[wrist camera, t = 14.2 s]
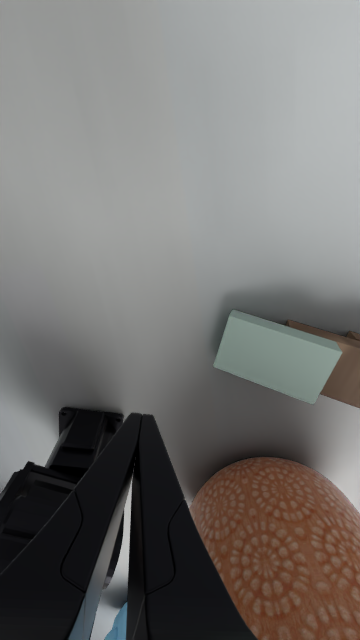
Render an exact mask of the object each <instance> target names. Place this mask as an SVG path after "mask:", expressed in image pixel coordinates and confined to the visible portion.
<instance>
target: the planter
mask: <svg viewBox="0 0 360 640" xmlns="http://www.w3.org/2000/svg"><path fill="white" fill-rule="evenodd" d="M189 511H190V513H191V516H192V518H193V520H194V523H195V525H196V528H197V530H198V532H199V534H200V536H201V538H202V541H203V543H204V545H205V547H206V549H207V551H208V553H209V555H210V557H211V559H212V561H213V563H214V565H215V567H216V569H217V571H218V573H219V575H220V577H221V579H222V581H223V583H224V585H225V587H226V589H227V591H228V593H229V595H230V597H231V599H232V600H233V602H234V604H235V606H236V608H237V610H238V611H239V613H240V615H241V617H242V618H243V620H244V621H245V623H246V624H247V626H248V627H249V629H250V630H251V631H252V633H253V634H254V635H255V636H256V638H257V639H258V640H360V513H359V512H358V511H357V510H356V508H355V507H354V506H353V505H352V503H351V502H350V501H349V500H348V499H347V497H346V496H345V495H344V494H343V493H342V492H341V491H340V490H339V489H338V488H337V487H336V486H335V485H334V484H333V483H332V482H331V481H330V480H328V479H327V478H326V477H324V476H323V475H322V474H320V473H319V472H317V471H315V470H313V469H311V468H309V467H307V466H305V465H303V464H300V463H298V462H294V461H291V460H287V459H283V458H276V457H255V458H249V459H244V460H241V461H238V462H235V463H232V464H230V465H228V466H226V467H224V468H223V469H221V470H220V471H218V472H217V473H216V474H214V475H213V476H212V477H211V478H210V479H209V480H208V481H207V482H206V483H205V484H204V485H203V486H202V487H201V489H200V490H199V491H198V493H197V495H196V496H195V498H194V500H193V502H192V504H191V506H190V508H189Z"/></svg>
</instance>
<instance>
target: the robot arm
mask: <svg viewBox="0 0 360 640" xmlns="http://www.w3.org/2000/svg"><path fill="white" fill-rule="evenodd" d="M64 412H65V413H64ZM117 418H119V419H117ZM141 418H142V419H141ZM123 419H124V417H123V415H122V414H118V413H109V412H101V411H92V410H83V409H75V408H66V407H64V408H62V409H61V410H60V412H59V439H58V441H57V443H56V445H55V447H54V449H53V451H52V453H51V455H50V457H49V459H48V461H47V463H46V465H45V467H42V466H39V465H35V464H34V463H33V462H30V461H28V462H27V464H26V465H25V467H24V469H23V470H21V469H20V471H18V472H14V473H13V475H12V477H11V478H10V480H9V482H8V483H7V485H6V486H5V488H4V490H3V491H2V493H1V494H0V640H90V637H91V633H92V628H93V624H94V620H95V615H96V611H97V607H98V604H99V600H100V596H101V593H102V590H103V589H105V588H107V586H108V585H109V583H110V581H111V579H112V577H113V574H114V571H115V568H116V565H117V562H118V558H119V554H120V550H121V545H122V539H123V525H124V507H125V503H126V499H127V496H128V492H129V488H130V484H131V480H132V475H133V480H132V500H131V525H130V549H129V573H128V598H127V622H126V640H258V639H257V638H256V636H255V635H254V634H253V633H252V631H251V630H250V629H249V627H248V626H247V624H246V623H245V621H244V620H243V618H242V617H241V615H240V613H239V611H238V610H237V608H236V606H235V604H234V602H233V600H232V599H231V597H230V595H229V593H228V591H227V589H226V587H225V585H224V583H223V581H222V579H221V577H220V575H219V573H218V571H217V569H216V567H215V565H214V563H213V561H212V559H211V557H210V555H209V553H208V551H207V549H206V547H205V545H204V543H203V541H202V538H201V536H200V534H199V532H198V530H197V528H196V525H195V523H194V520H193V518H192V516H191V513H190V511H189V508H188V505H187V503H186V500H184V499H185V498H184V495H183V492H182V490H181V487H180V484H179V482H178V479H177V476H176V474H175V471H174V469H173V466H172V463H171V461H170V458H169V455H168V453H167V450H166V447H165V445H164V442H163V439H162V437H161V434H160V432H159V429H158V426H157V424H156V421H155V418H154V416H153V415H150V414H143V415H142V414H141V413H131V414H130V415H129V416H128V417H127V419H126V420H125V421H124V423H123ZM135 457H136V458H135ZM134 463H135V464H134ZM133 470H134V471H133Z"/></svg>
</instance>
